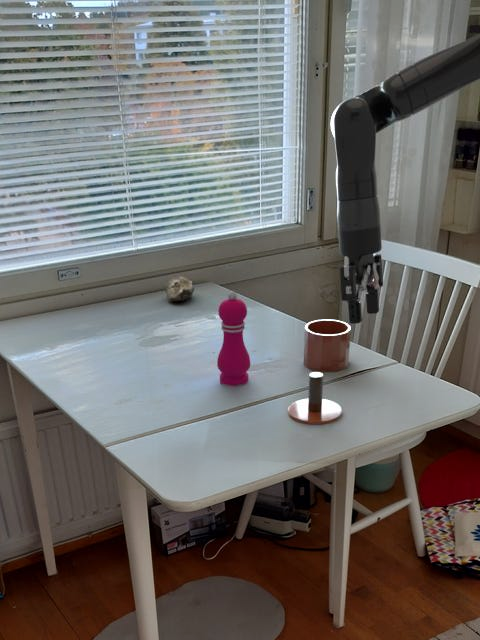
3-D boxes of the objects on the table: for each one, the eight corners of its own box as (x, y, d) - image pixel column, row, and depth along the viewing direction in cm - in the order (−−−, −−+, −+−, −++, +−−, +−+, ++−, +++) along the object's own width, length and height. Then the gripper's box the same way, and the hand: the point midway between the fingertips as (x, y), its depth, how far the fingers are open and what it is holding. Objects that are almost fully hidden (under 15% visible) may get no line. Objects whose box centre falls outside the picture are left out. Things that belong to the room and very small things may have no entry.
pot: (347, 355, 184) (350, 319, 179) (348, 372, 176) (351, 336, 171) (304, 354, 185) (305, 319, 180) (303, 371, 177) (304, 335, 172)
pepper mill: (256, 379, 173) (256, 289, 162) (238, 391, 168) (237, 299, 157) (229, 373, 176) (227, 284, 165) (211, 384, 171) (207, 293, 160)
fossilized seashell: (187, 296, 213) (203, 292, 221) (176, 273, 212) (193, 270, 220) (166, 308, 217) (183, 303, 225) (155, 286, 216) (173, 282, 224)
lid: (341, 404, 162) (343, 364, 157) (341, 428, 153) (344, 387, 149) (289, 402, 163) (290, 363, 158) (286, 426, 154) (287, 385, 150)
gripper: (363, 229, 132) (369, 326, 139) (393, 218, 143) (397, 309, 149) (323, 232, 136) (330, 327, 143) (354, 222, 146) (360, 310, 153)
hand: (364, 318), depth 146 cm, fingers open, 8 cm apart
